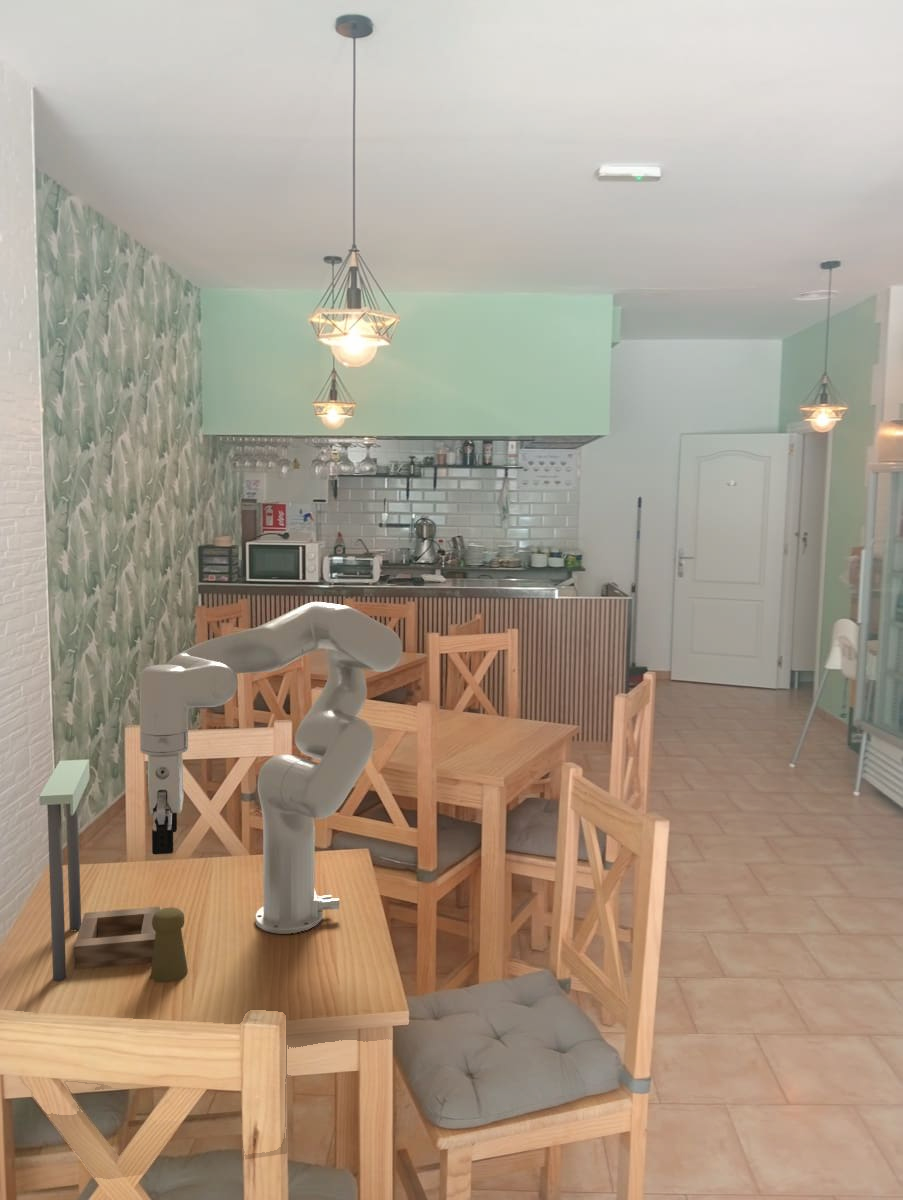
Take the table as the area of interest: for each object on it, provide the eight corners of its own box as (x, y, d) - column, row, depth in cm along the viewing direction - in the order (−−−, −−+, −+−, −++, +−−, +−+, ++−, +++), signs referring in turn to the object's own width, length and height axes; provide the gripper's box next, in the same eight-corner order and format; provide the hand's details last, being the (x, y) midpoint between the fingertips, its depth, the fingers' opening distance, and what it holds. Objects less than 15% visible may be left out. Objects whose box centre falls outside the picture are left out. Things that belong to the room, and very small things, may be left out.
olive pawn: (177, 984, 156) (176, 920, 154) (143, 980, 157) (142, 916, 155) (194, 966, 161) (193, 905, 160) (161, 962, 163) (160, 901, 161)
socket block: (159, 927, 175) (159, 906, 175) (155, 961, 163) (154, 939, 162) (85, 933, 172) (84, 912, 172) (74, 969, 160) (74, 946, 159)
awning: (93, 924, 176) (89, 759, 172) (78, 979, 157) (72, 794, 153) (64, 927, 175) (59, 760, 171) (45, 982, 155) (39, 796, 152)
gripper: (185, 754, 147) (185, 861, 149) (190, 727, 164) (190, 823, 166) (134, 756, 145) (135, 863, 147) (145, 728, 162) (146, 825, 164)
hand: (165, 842), depth 157 cm, fingers open, 9 cm apart
